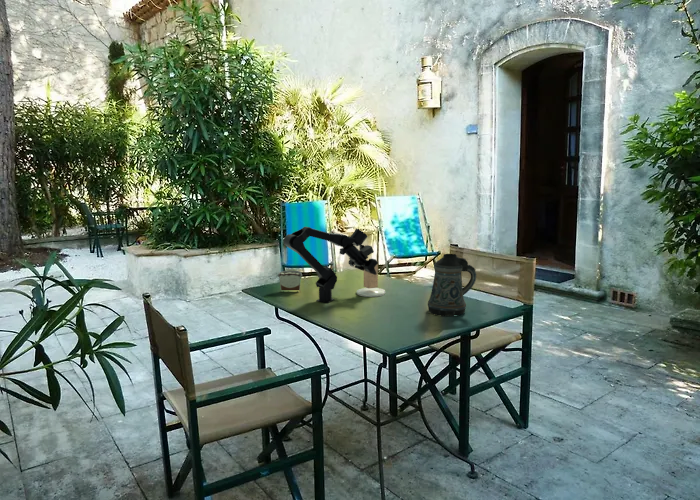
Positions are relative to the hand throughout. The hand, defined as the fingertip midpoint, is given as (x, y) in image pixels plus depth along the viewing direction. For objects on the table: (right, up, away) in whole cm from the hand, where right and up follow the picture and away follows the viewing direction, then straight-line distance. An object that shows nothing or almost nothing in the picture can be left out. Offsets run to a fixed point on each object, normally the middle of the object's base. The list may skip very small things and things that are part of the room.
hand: (372, 273), depth 273 cm
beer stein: (+32, -15, -32) cm, 48 cm away
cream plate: (-1, -10, +1) cm, 10 cm away
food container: (-41, -10, +9) cm, 43 cm away
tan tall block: (-1, -7, 0) cm, 7 cm away
